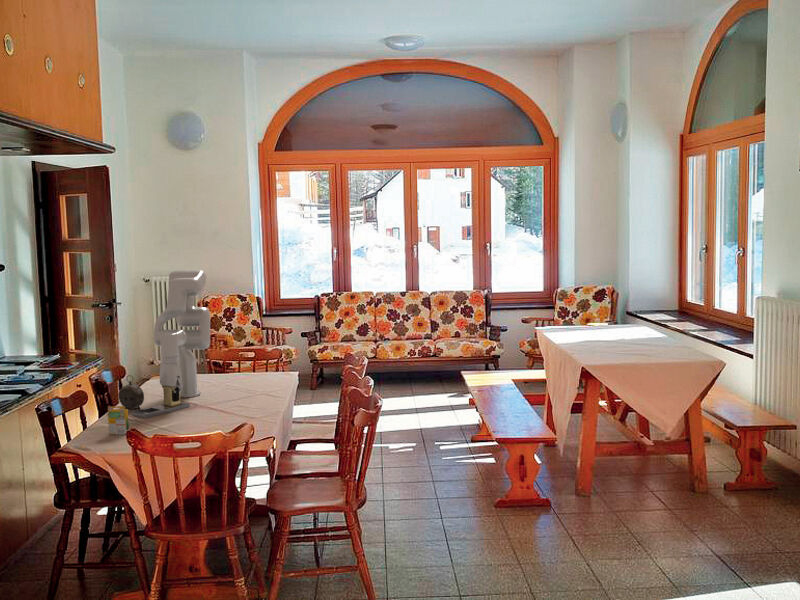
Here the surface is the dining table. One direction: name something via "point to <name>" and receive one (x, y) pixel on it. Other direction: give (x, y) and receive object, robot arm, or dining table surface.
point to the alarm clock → (131, 396)
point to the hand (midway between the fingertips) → (172, 399)
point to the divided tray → (158, 410)
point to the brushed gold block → (169, 397)
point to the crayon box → (118, 420)
